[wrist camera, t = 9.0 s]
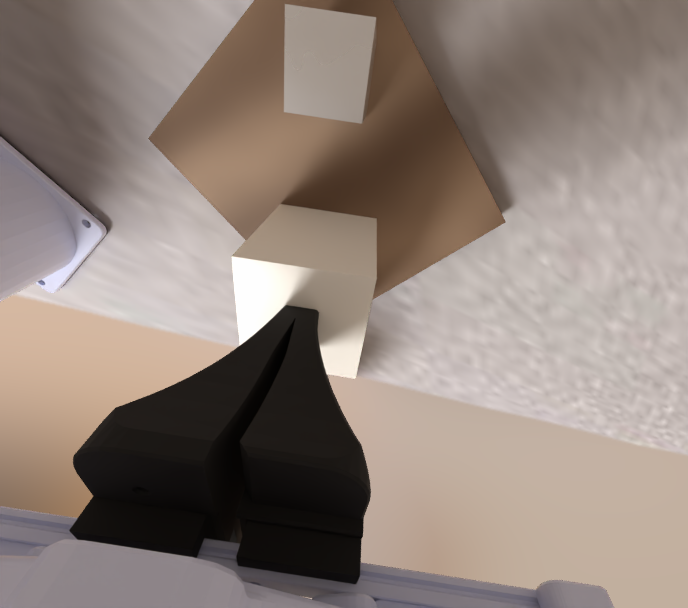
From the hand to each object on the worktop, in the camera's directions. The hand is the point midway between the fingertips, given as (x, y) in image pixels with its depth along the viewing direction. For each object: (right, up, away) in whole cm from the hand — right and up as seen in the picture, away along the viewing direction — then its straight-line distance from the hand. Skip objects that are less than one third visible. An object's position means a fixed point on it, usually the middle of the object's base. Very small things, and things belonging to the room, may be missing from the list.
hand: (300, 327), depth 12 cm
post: (+2, +11, +1) cm, 11 cm away
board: (+1, +8, +4) cm, 9 cm away
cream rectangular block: (+1, +4, +5) cm, 7 cm away
